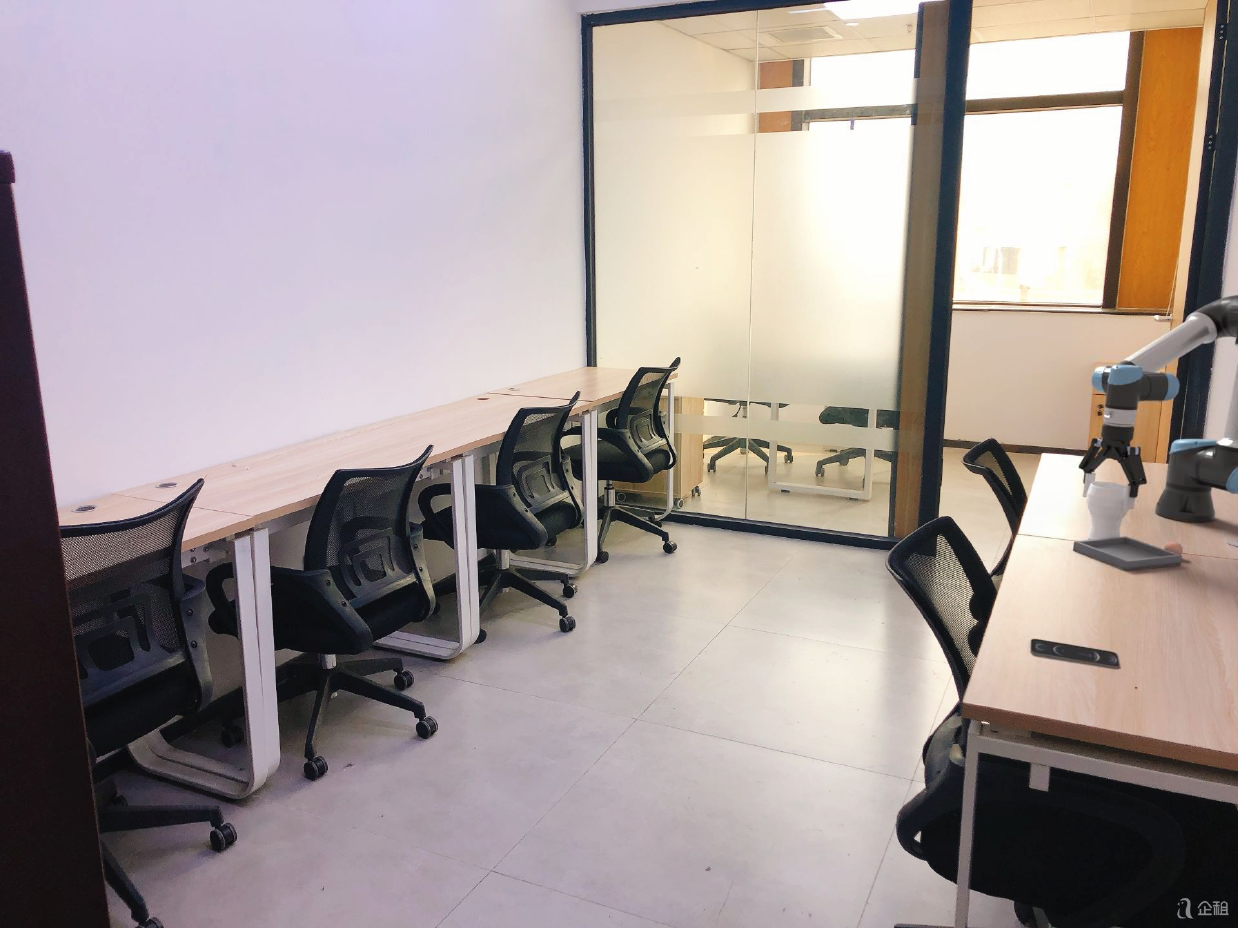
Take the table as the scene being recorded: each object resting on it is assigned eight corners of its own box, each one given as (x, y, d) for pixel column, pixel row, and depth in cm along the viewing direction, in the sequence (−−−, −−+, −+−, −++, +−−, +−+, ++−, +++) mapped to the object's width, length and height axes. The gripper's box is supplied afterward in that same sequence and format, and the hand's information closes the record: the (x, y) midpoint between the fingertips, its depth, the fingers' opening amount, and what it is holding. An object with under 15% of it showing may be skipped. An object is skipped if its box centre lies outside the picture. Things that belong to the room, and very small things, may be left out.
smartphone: (1120, 667, 168) (1030, 651, 174) (1119, 671, 169) (1030, 656, 174) (1117, 652, 175) (1031, 637, 181) (1116, 656, 175) (1030, 641, 181)
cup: (1131, 546, 243) (1139, 491, 240) (1088, 543, 245) (1095, 489, 242) (1118, 535, 253) (1125, 482, 250) (1077, 532, 255) (1083, 479, 252)
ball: (1171, 553, 237) (1173, 539, 236) (1185, 558, 233) (1187, 543, 232) (1159, 555, 236) (1161, 540, 235) (1173, 560, 232) (1175, 544, 231)
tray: (1124, 545, 244) (1125, 536, 244) (1180, 564, 228) (1182, 555, 228) (1073, 550, 239) (1074, 541, 239) (1126, 570, 223) (1127, 561, 223)
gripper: (1070, 417, 253) (1061, 492, 257) (1147, 433, 229) (1134, 515, 234) (1092, 416, 255) (1082, 491, 259) (1170, 432, 232) (1157, 513, 236)
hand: (1107, 502), depth 247 cm, fingers open, 13 cm apart
